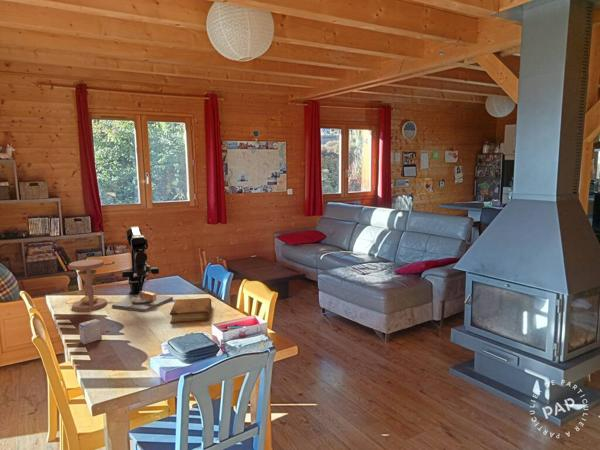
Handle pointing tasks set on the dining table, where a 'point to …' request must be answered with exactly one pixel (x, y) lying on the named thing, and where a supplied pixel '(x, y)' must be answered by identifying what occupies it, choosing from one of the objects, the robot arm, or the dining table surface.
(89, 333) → the medicine box
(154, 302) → the panel
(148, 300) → the dial
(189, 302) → the diary
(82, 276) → the wooden pedestal stand
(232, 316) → the dining table surface
